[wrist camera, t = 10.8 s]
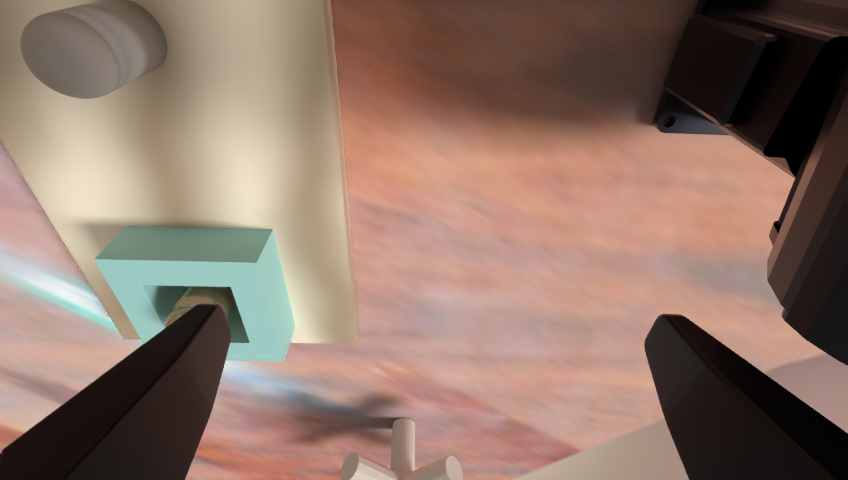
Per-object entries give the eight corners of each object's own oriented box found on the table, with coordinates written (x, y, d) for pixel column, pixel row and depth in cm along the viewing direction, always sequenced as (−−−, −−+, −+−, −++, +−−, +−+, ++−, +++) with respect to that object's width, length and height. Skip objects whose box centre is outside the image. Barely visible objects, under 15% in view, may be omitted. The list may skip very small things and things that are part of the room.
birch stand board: (319, -136, 13) (265, -170, 9) (359, 325, 26) (345, 407, 22) (-133, -160, 13) (-439, -208, 8) (137, 320, 26) (77, 402, 22)
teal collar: (272, 229, 20) (256, 262, 18) (295, 325, 24) (284, 361, 22) (126, 226, 20) (93, 259, 18) (175, 323, 24) (152, 359, 22)
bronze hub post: (236, 264, 21) (202, 327, 18) (246, 297, 23) (216, 361, 19) (189, 263, 21) (146, 326, 18) (202, 296, 23) (165, 360, 19)
